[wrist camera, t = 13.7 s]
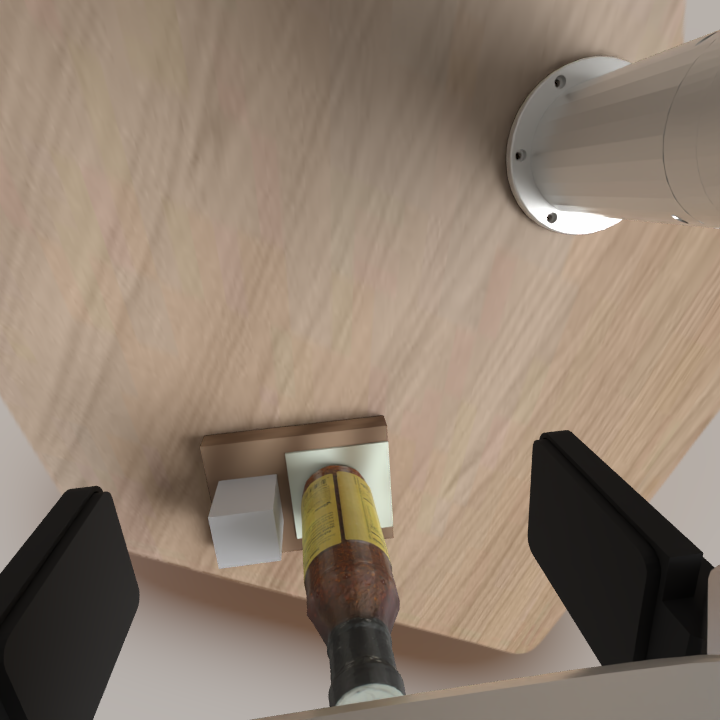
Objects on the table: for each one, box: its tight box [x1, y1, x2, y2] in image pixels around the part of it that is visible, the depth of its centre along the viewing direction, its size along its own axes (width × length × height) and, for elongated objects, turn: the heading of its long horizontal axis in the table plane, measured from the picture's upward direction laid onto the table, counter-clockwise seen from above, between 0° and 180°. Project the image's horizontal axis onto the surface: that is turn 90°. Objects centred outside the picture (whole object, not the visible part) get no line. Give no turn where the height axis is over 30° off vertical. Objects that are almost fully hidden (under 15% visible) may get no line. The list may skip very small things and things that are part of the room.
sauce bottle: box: [301, 465, 406, 707], centre depth 34 cm, size 6×6×20 cm
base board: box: [200, 416, 394, 553], centre depth 44 cm, size 16×12×2 cm
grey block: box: [208, 474, 284, 569], centre depth 41 cm, size 5×5×5 cm
